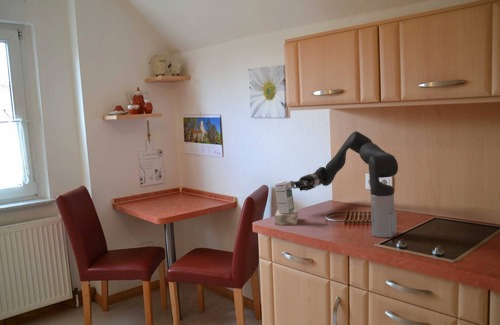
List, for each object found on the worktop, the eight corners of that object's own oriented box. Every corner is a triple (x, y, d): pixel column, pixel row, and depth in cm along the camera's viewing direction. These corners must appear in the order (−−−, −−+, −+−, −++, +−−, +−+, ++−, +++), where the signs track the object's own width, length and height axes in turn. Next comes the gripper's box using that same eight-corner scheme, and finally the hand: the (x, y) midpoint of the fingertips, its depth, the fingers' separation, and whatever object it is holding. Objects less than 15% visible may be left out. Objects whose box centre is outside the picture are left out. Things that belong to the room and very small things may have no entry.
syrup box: (288, 213, 210) (285, 183, 209) (278, 213, 213) (274, 183, 212) (294, 210, 215) (291, 181, 213) (284, 210, 218) (280, 181, 217)
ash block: (297, 219, 219) (297, 209, 218) (296, 225, 209) (295, 215, 208) (277, 220, 221) (277, 210, 220) (275, 225, 211) (274, 215, 210)
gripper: (296, 174, 235) (280, 179, 222) (321, 175, 227) (305, 181, 214) (297, 188, 236) (281, 194, 223) (321, 189, 228) (305, 196, 215)
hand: (292, 188), depth 219 cm, fingers open, 8 cm apart
